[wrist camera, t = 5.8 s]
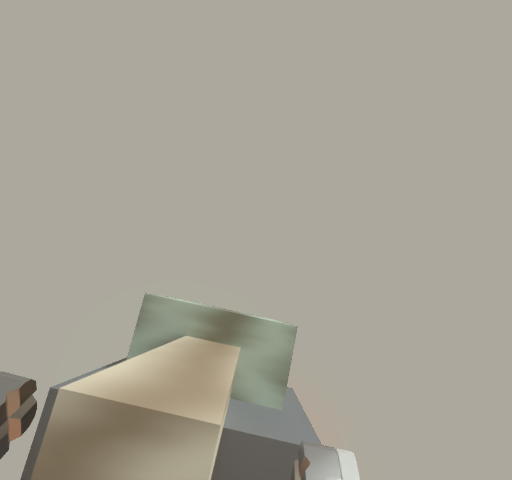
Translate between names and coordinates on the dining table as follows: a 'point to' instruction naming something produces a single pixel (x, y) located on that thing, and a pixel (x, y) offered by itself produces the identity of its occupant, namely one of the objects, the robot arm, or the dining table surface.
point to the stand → (230, 437)
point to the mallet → (166, 395)
